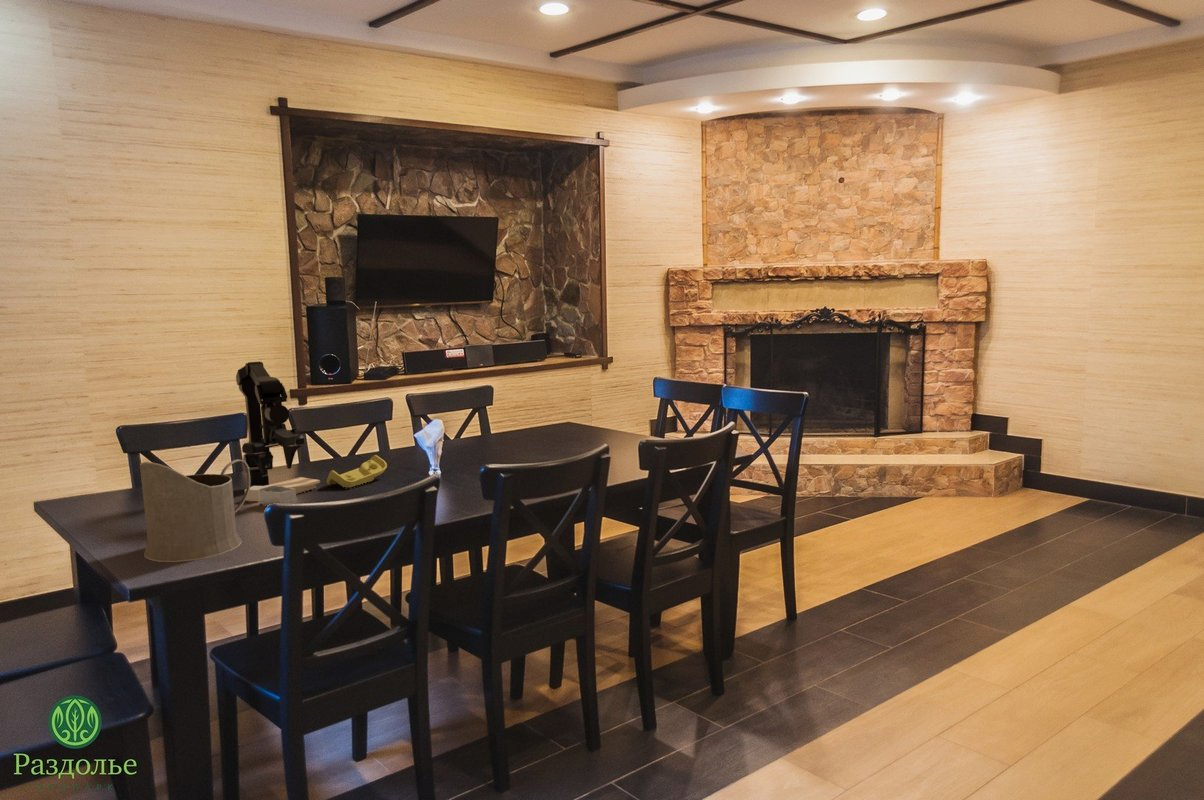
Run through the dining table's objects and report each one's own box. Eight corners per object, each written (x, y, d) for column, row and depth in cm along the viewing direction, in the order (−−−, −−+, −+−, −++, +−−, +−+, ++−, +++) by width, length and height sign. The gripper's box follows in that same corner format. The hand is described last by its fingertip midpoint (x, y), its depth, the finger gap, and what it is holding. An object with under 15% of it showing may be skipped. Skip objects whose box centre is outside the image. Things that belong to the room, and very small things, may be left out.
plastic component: (349, 483, 294) (328, 468, 298) (344, 501, 297) (324, 486, 301) (392, 466, 311) (372, 452, 314) (388, 484, 314) (368, 469, 318)
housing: (260, 505, 278) (258, 489, 277) (276, 500, 283) (275, 485, 282) (280, 509, 273) (279, 493, 272) (297, 504, 277) (295, 488, 277)
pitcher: (124, 556, 231) (113, 460, 227) (223, 523, 259) (216, 437, 255) (187, 566, 221) (177, 466, 217) (284, 531, 249) (276, 442, 245)
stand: (264, 495, 291) (264, 486, 291) (300, 485, 302) (300, 477, 302) (284, 498, 285) (283, 489, 285) (320, 489, 297) (319, 480, 297)
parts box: (245, 501, 283) (244, 489, 283) (255, 497, 288) (254, 485, 288) (259, 502, 282) (258, 490, 282) (269, 498, 287) (267, 486, 286)
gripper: (262, 426, 262) (267, 479, 264) (314, 417, 278) (318, 467, 280) (238, 425, 269) (243, 476, 270) (291, 416, 284) (295, 465, 286)
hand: (276, 471), depth 276 cm, fingers open, 9 cm apart
